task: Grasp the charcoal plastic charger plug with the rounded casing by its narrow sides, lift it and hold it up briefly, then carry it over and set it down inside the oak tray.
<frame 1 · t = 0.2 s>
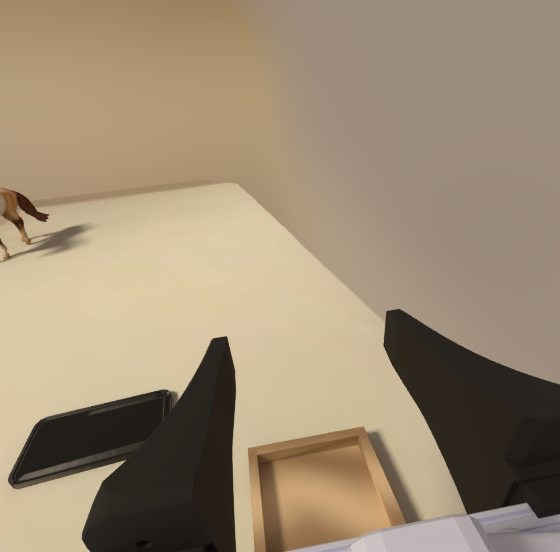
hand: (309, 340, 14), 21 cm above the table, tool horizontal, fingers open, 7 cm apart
horse figurine: (24, 250, 90), on the table
phone: (102, 437, 35), on the table
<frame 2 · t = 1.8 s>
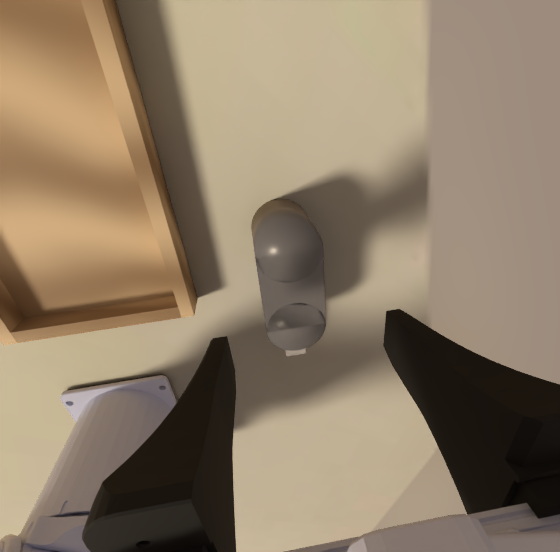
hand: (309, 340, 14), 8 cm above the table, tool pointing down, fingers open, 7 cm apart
oak tray: (52, 179, 17), on the table
charger plug: (283, 261, 21), on the table
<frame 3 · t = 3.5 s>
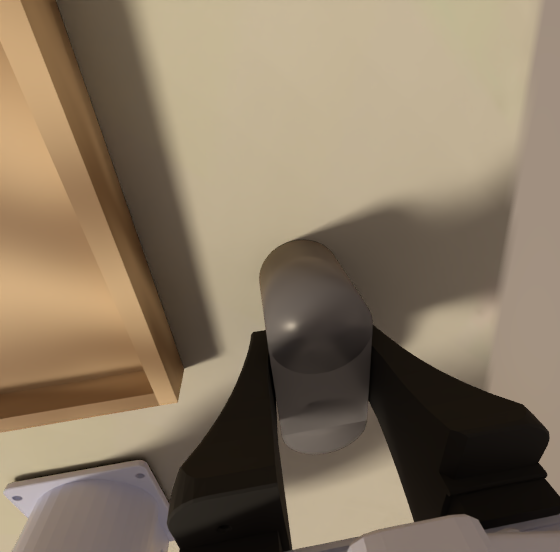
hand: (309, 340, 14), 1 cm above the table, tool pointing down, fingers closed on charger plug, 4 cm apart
charger plug: (302, 321, 15), on the table, touching gripper
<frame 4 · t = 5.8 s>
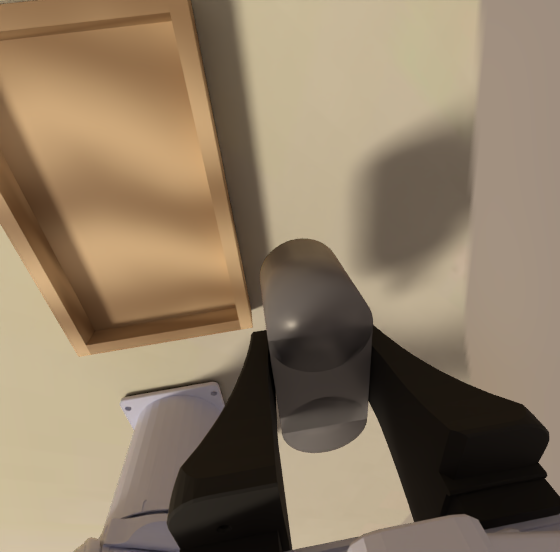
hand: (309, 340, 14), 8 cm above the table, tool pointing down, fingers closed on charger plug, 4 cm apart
oak tray: (129, 205, 18), on the table
charger plug: (303, 320, 15), point 7 cm above the table, touching gripper
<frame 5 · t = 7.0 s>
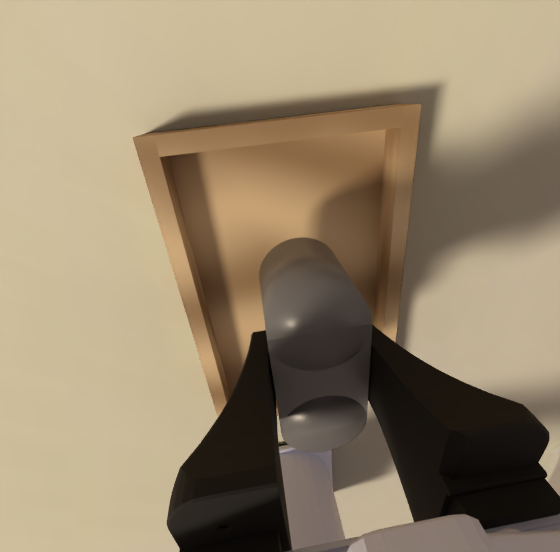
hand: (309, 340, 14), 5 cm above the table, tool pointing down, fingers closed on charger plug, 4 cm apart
oak tray: (291, 284, 18), on the table
charger plug: (302, 319, 15), point 4 cm above the table, touching gripper
when the fingers open (3 cm above the table, at t = 8.1 s): charger plug drops 1 cm, resting on oak tray.
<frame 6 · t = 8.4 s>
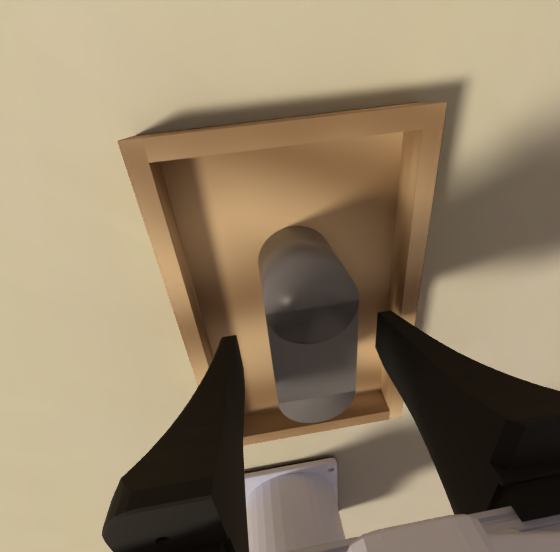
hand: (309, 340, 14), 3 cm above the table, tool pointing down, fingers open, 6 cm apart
oak tray: (296, 299, 17), on the table
charger plug: (298, 303, 16), resting on oak tray
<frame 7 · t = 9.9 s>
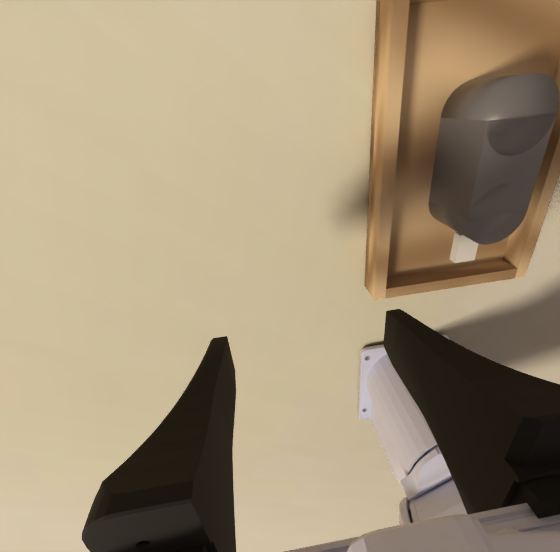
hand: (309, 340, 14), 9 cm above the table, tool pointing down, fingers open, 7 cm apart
oak tray: (455, 158, 20), on the table
charger plug: (461, 158, 20), resting on oak tray
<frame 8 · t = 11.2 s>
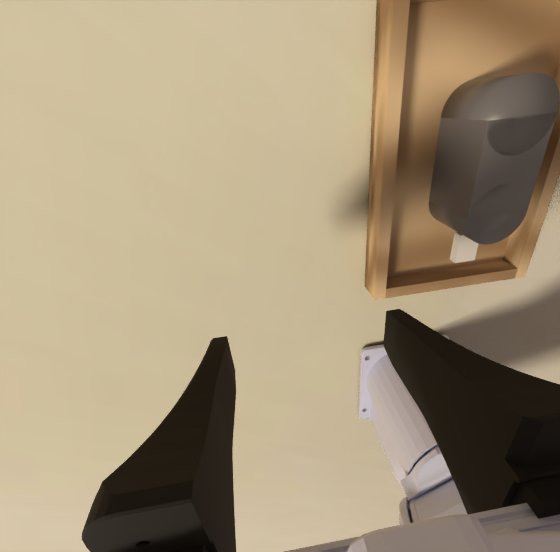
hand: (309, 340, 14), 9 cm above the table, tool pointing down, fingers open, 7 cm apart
oak tray: (455, 158, 20), on the table
charger plug: (461, 158, 20), resting on oak tray
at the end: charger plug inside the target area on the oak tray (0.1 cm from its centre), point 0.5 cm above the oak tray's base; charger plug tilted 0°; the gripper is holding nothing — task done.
